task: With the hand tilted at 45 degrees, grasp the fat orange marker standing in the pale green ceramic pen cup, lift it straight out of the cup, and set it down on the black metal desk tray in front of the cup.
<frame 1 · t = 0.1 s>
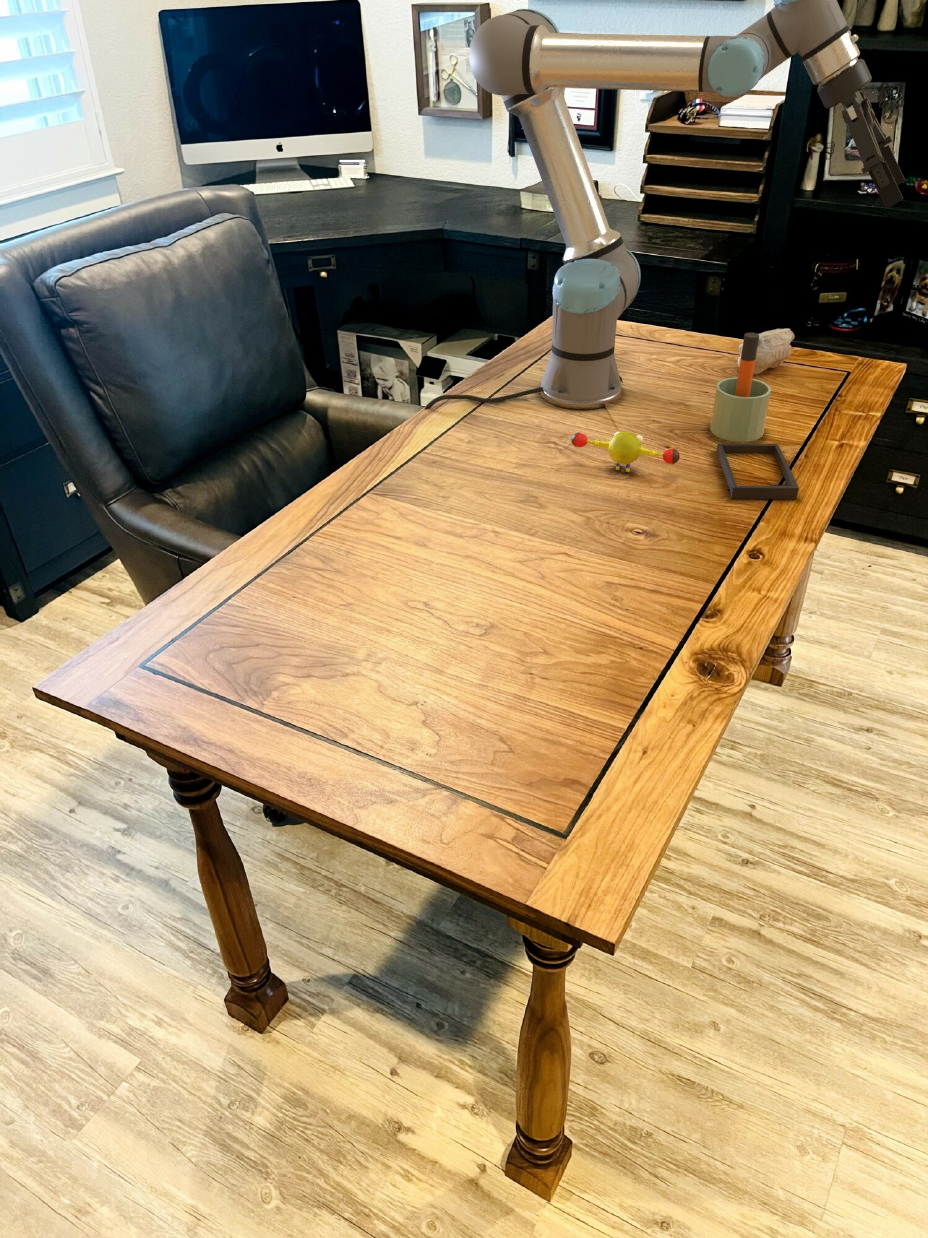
hand: (896, 194, 157), 36 cm above the table, tool tilted 35°, fingers open, 13 cm apart
pen tray: (754, 475, 155), on the table
fossil replica: (760, 369, 192), on the table
pen cup: (736, 433, 168), on the table
marker: (736, 430, 168), point 1 cm above the table, touching pen cup
toy figure: (622, 471, 158), on the table
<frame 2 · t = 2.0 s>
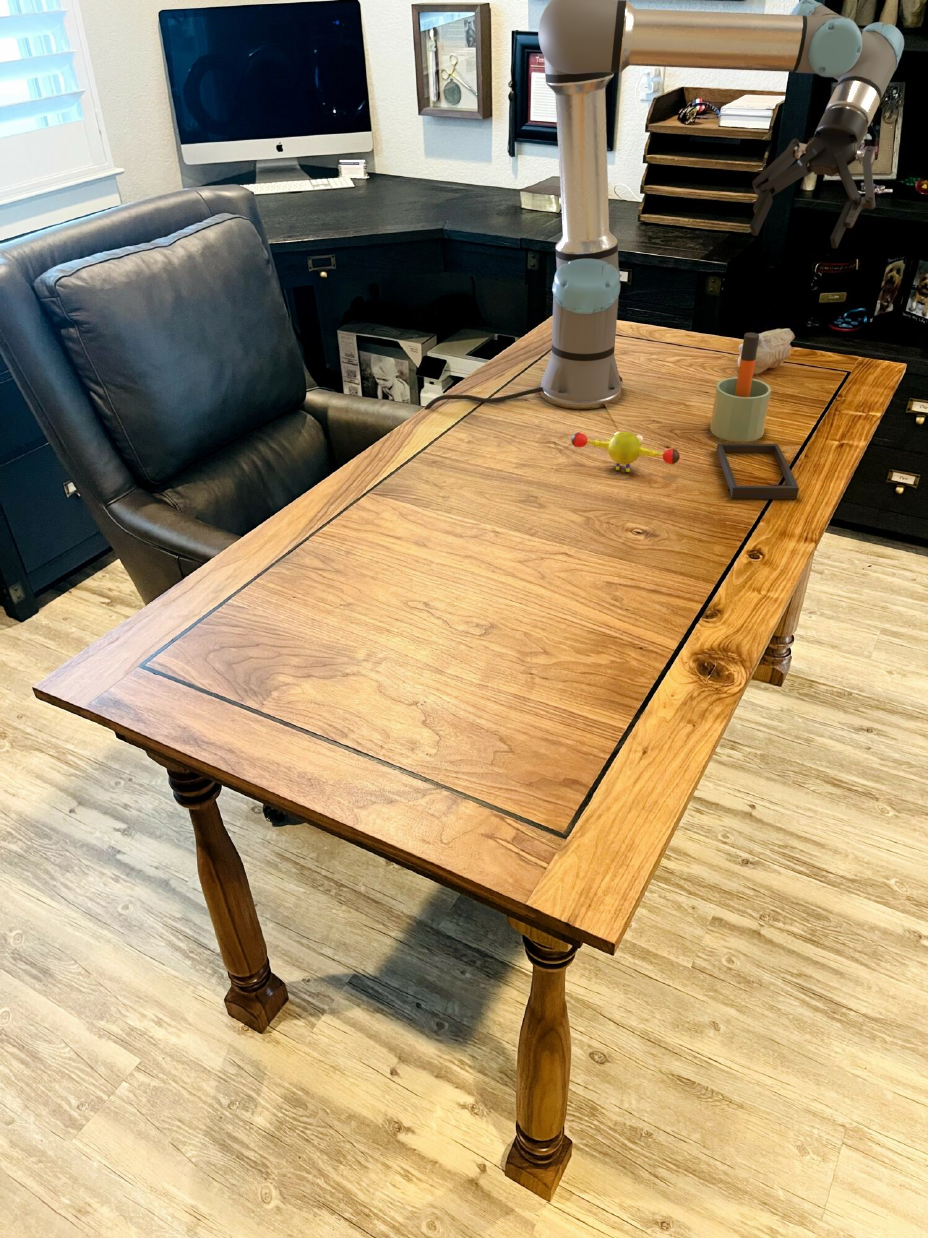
hand: (792, 237, 157), 31 cm above the table, tool tilted 45°, fingers open, 13 cm apart
nothing on the table moved.
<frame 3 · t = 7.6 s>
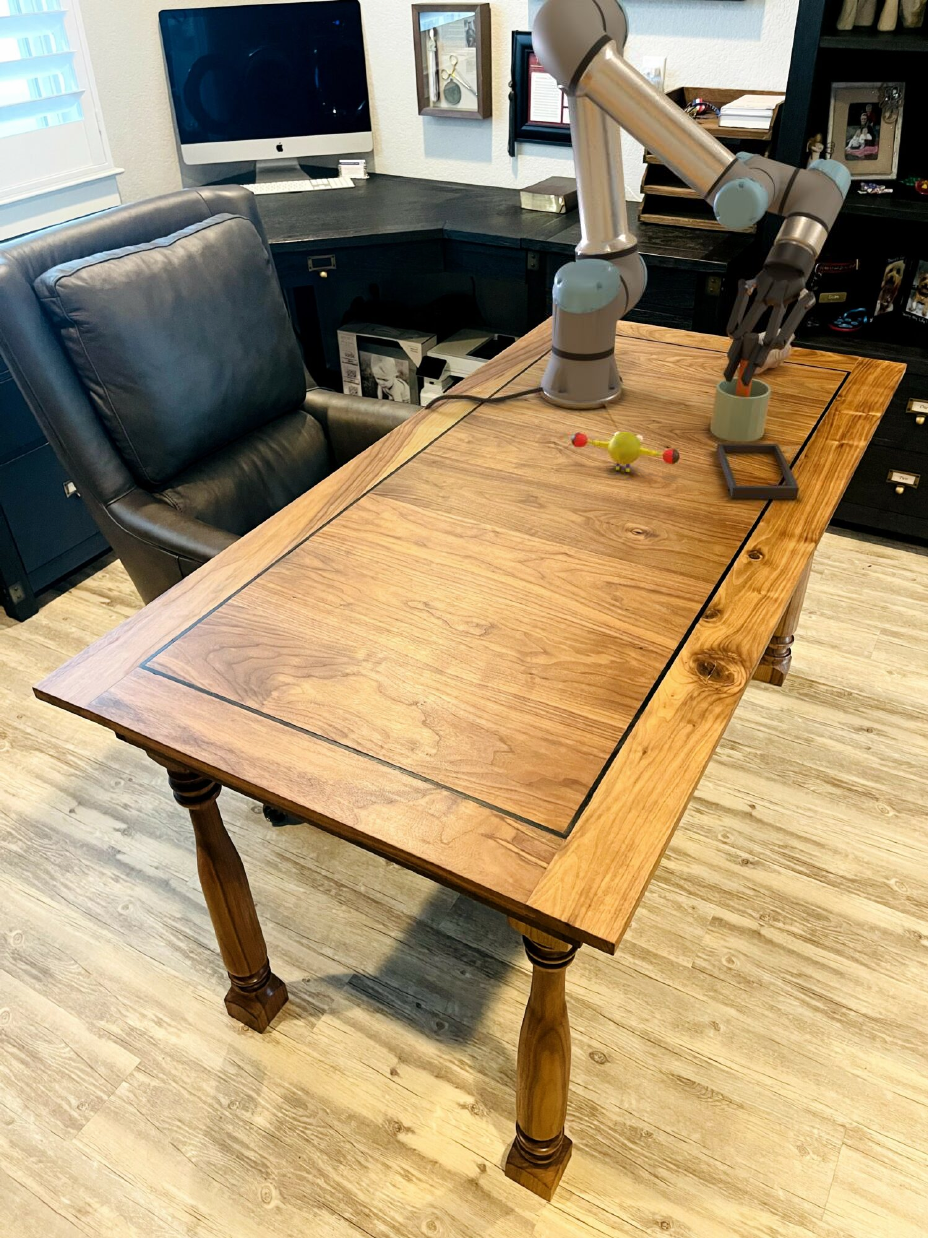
hand: (735, 380, 159), 11 cm above the table, tool tilted 45°, fingers closed on marker, 2 cm apart
marker: (736, 430, 168), point 1 cm above the table, touching gripper, pen cup
everything else where it was.
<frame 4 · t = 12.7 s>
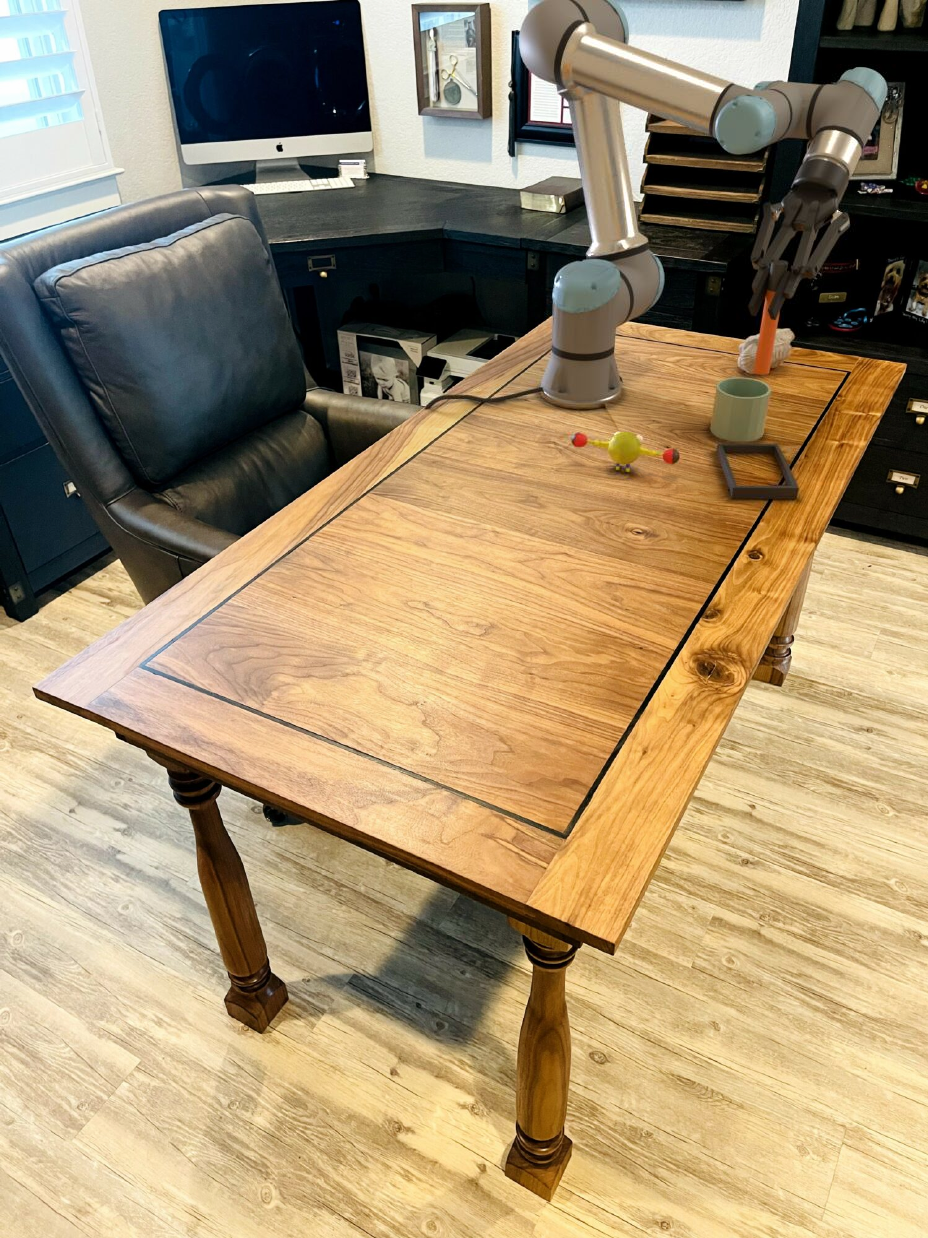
hand: (761, 312, 144), 25 cm above the table, tool tilted 45°, fingers closed on marker, 2 cm apart
marker: (761, 371, 152), point 15 cm above the table, touching gripper
everything else where it was.
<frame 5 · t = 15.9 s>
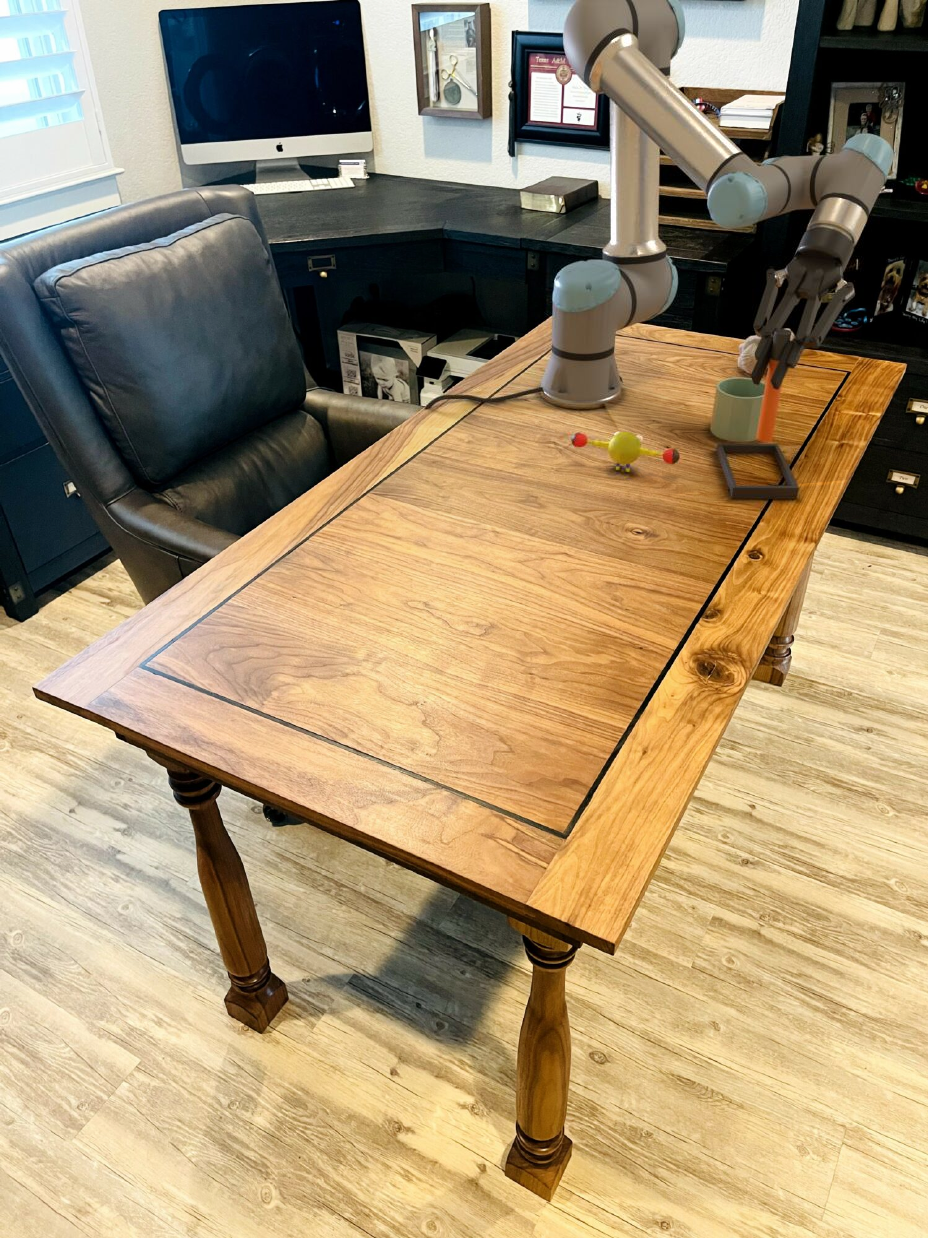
hand: (764, 382, 141), 18 cm above the table, tool tilted 45°, fingers closed on marker, 2 cm apart
marker: (764, 438, 150), point 7 cm above the table, touching gripper
everything else where it was.
when the fingers open (11 cm above the table, at t = 17.9 s): marker stays where it is, resting on pen tray.
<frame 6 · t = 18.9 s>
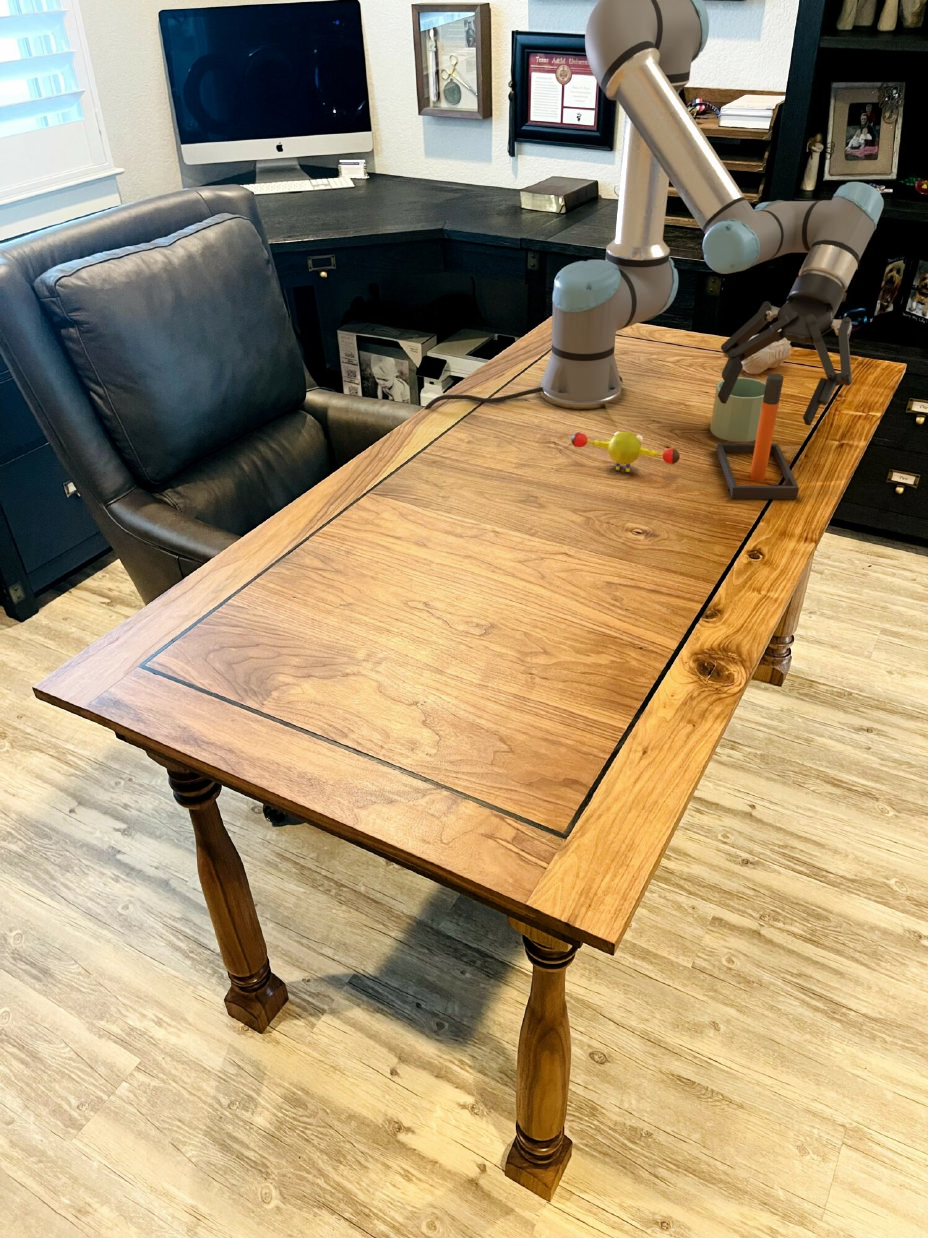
hand: (762, 410, 145), 13 cm above the table, tool tilted 45°, fingers open, 13 cm apart
marker: (757, 477, 154), resting on pen tray
everything else where it was.
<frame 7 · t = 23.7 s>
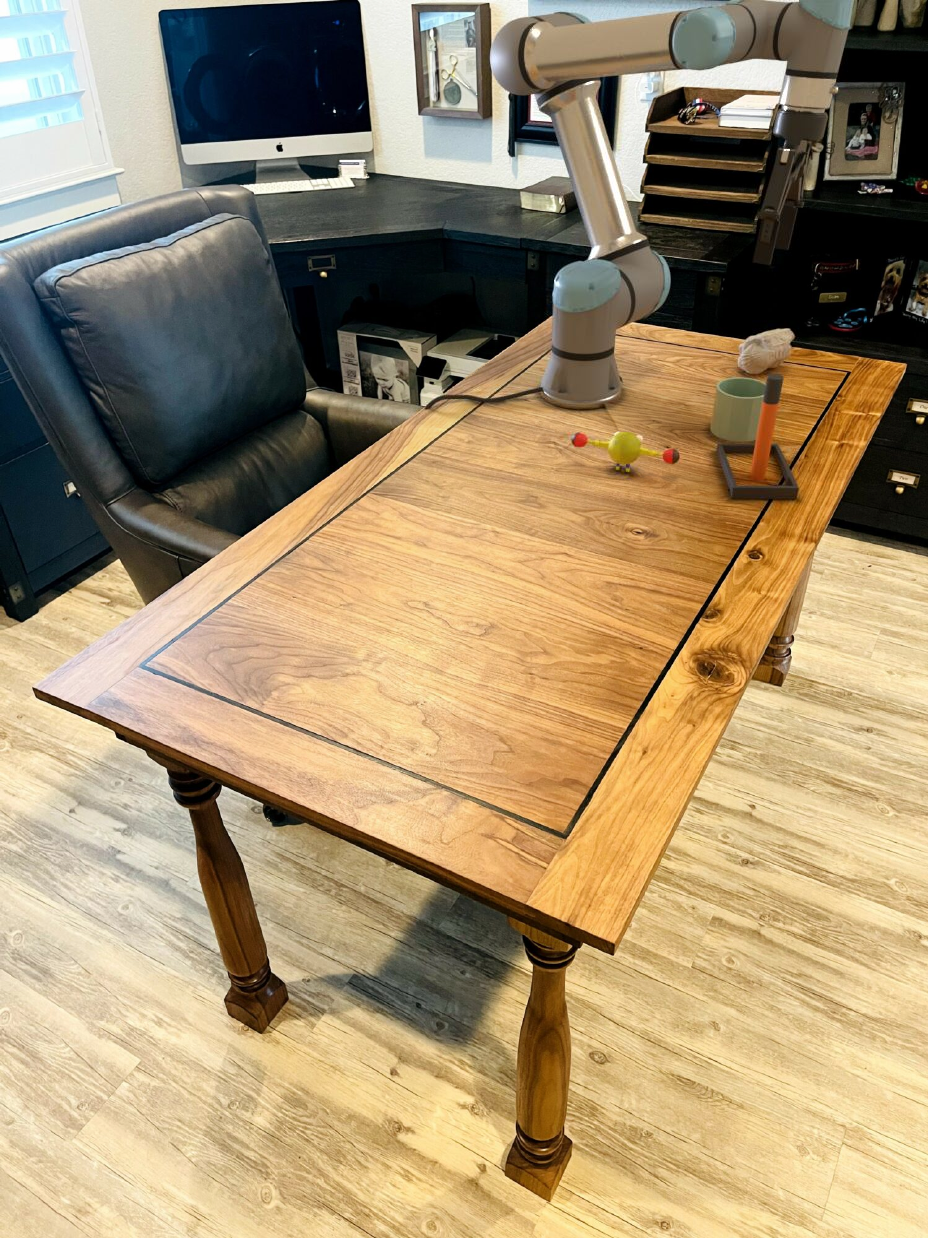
hand: (770, 255, 157), 28 cm above the table, tool pointing down, fingers open, 13 cm apart
nothing on the table moved.
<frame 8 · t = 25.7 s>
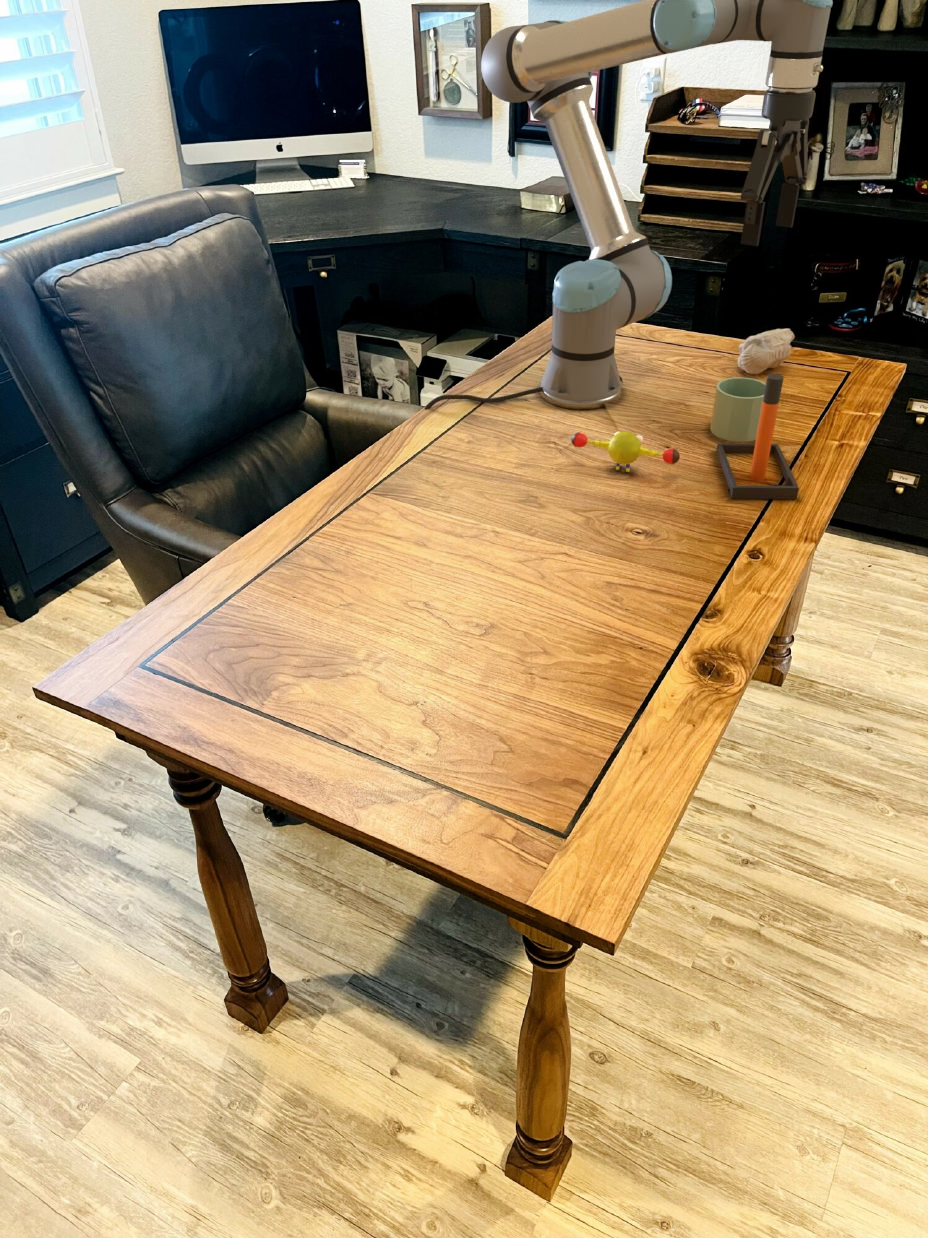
hand: (767, 235, 158), 31 cm above the table, tool pointing down, fingers open, 13 cm apart
nothing on the table moved.
at the end: marker inside the target area on the pen tray (1.6 cm from its centre), point 0.5 cm above the pen tray's base; the gripper is holding nothing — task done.
